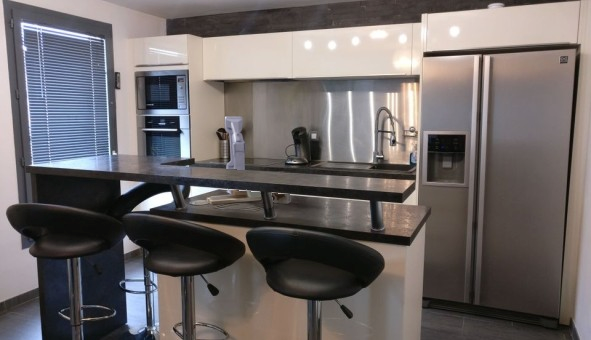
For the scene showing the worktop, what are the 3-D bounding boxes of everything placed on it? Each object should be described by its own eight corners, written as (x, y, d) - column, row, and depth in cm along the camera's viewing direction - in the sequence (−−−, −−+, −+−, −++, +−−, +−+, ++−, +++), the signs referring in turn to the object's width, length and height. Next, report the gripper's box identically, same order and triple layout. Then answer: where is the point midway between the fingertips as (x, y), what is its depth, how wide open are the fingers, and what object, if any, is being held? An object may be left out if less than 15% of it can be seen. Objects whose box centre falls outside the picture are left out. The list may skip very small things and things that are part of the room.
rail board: (206, 200, 240) (206, 195, 240) (259, 195, 253) (259, 190, 252) (211, 204, 231) (211, 198, 231) (266, 199, 244) (266, 194, 243)
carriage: (231, 196, 243) (231, 182, 242) (243, 194, 246) (243, 182, 245) (234, 198, 238) (234, 184, 237) (247, 197, 241) (247, 183, 240)
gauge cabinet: (246, 194, 248) (246, 187, 248) (258, 193, 251) (258, 186, 250) (251, 197, 241) (251, 190, 240) (263, 196, 244) (263, 189, 243)
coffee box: (270, 202, 236) (270, 172, 234) (275, 200, 242) (275, 170, 240) (287, 204, 233) (287, 173, 231) (291, 201, 239) (291, 171, 237)
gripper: (228, 163, 244) (228, 187, 246) (236, 166, 231) (236, 192, 234) (240, 162, 247) (240, 186, 249) (249, 165, 234) (249, 191, 236)
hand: (239, 189), depth 242 cm, fingers open, 7 cm apart
